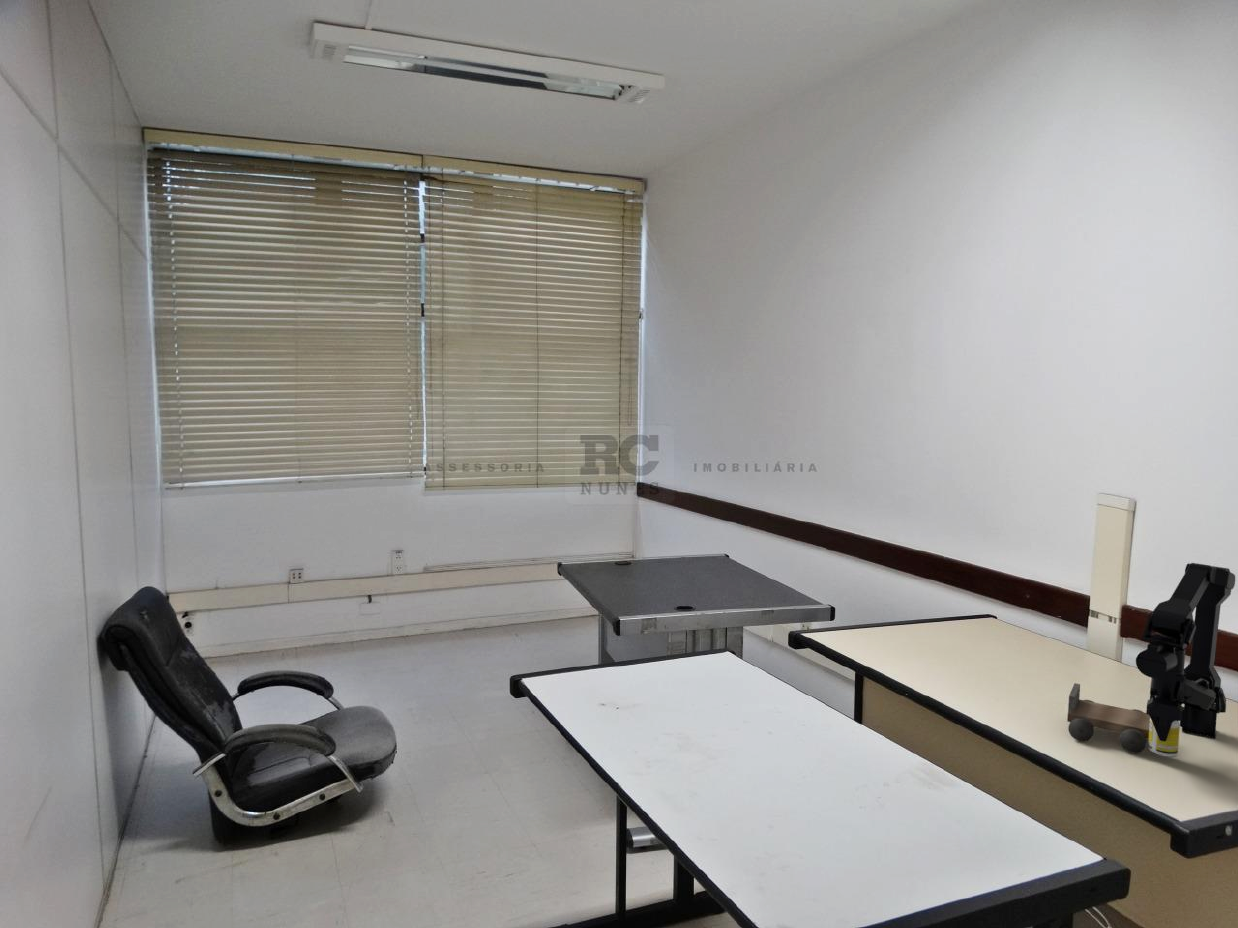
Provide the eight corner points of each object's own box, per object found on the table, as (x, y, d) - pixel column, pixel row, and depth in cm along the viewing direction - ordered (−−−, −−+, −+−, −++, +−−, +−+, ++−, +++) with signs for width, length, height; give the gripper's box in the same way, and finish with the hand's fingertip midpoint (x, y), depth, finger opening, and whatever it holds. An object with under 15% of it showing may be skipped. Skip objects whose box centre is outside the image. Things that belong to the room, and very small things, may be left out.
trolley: (1151, 733, 189) (1153, 694, 188) (1147, 756, 177) (1150, 715, 176) (1073, 716, 198) (1075, 680, 197) (1065, 737, 186) (1067, 698, 185)
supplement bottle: (1183, 755, 174) (1187, 711, 173) (1164, 758, 172) (1167, 714, 171) (1161, 744, 179) (1163, 702, 178) (1141, 747, 178) (1144, 705, 177)
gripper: (1214, 688, 162) (1209, 762, 163) (1214, 662, 177) (1208, 730, 178) (1148, 676, 168) (1143, 747, 170) (1153, 652, 183) (1148, 718, 185)
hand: (1163, 735), depth 175 cm, fingers closed on supplement bottle, 5 cm apart
